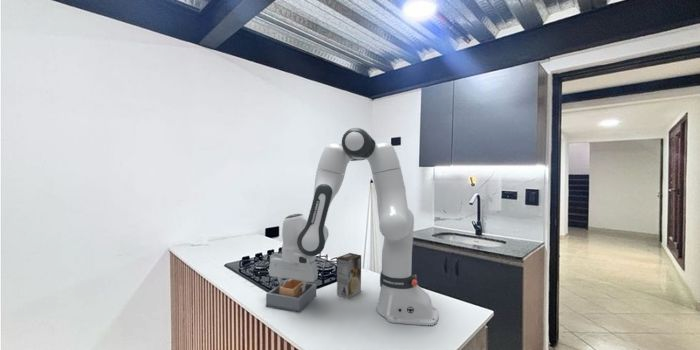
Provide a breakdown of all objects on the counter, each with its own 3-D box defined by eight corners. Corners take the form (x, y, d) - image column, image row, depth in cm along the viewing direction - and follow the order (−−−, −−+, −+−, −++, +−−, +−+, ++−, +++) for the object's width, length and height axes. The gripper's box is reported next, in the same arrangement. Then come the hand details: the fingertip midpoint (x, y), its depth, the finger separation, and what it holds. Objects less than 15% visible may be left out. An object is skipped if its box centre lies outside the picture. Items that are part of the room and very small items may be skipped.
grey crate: (316, 296, 118) (316, 284, 118) (299, 313, 103) (299, 299, 103) (286, 291, 122) (286, 279, 122) (266, 306, 107) (266, 293, 107)
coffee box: (349, 288, 126) (350, 252, 126) (361, 292, 122) (362, 255, 122) (336, 295, 119) (336, 257, 119) (348, 299, 115) (349, 260, 115)
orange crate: (305, 294, 116) (305, 280, 116) (293, 305, 107) (293, 289, 107) (292, 292, 118) (292, 278, 118) (279, 303, 109) (279, 287, 109)
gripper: (265, 254, 112) (265, 289, 113) (312, 260, 106) (312, 296, 106) (274, 250, 118) (274, 283, 119) (319, 255, 112) (319, 290, 112)
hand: (292, 289), depth 112 cm, fingers open, 7 cm apart
